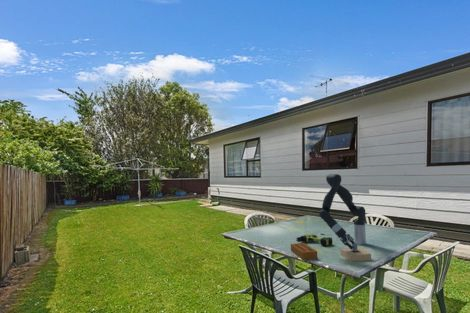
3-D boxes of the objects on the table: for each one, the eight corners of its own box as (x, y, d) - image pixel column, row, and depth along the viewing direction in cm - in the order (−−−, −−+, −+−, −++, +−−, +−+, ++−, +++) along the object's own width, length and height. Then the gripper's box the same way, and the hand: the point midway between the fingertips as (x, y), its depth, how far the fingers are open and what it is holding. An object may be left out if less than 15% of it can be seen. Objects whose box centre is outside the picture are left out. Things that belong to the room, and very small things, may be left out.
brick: (290, 251, 233) (290, 243, 233) (304, 249, 235) (303, 242, 235) (302, 260, 208) (302, 252, 208) (317, 259, 210) (317, 251, 210)
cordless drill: (312, 249, 234) (293, 243, 256) (333, 245, 246) (313, 239, 268) (312, 240, 234) (293, 235, 256) (333, 237, 246) (313, 232, 268)
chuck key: (352, 256, 212) (351, 243, 212) (356, 256, 212) (355, 243, 213) (354, 258, 208) (353, 244, 209) (358, 257, 209) (358, 244, 209)
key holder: (340, 254, 218) (340, 248, 218) (360, 253, 219) (360, 247, 219) (350, 261, 202) (349, 254, 202) (371, 260, 203) (371, 253, 203)
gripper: (338, 229, 212) (354, 246, 204) (345, 225, 223) (360, 242, 215) (331, 235, 216) (347, 252, 207) (338, 231, 226) (354, 248, 218)
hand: (354, 247), depth 211 cm, fingers open, 8 cm apart
